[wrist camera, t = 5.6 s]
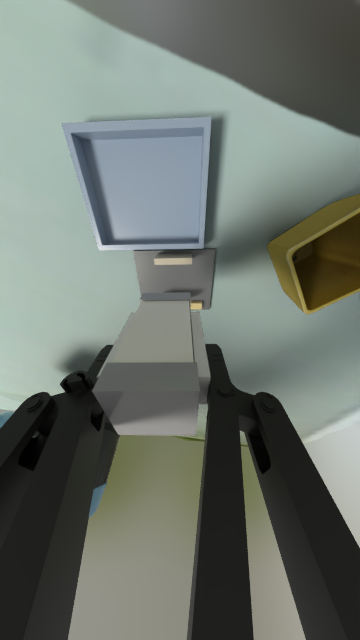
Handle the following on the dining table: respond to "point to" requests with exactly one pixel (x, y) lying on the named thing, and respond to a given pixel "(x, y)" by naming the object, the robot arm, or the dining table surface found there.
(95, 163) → the tray
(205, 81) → the dining table surface
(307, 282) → the flower pot
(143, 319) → the block
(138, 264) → the block
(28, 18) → the dining table surface
